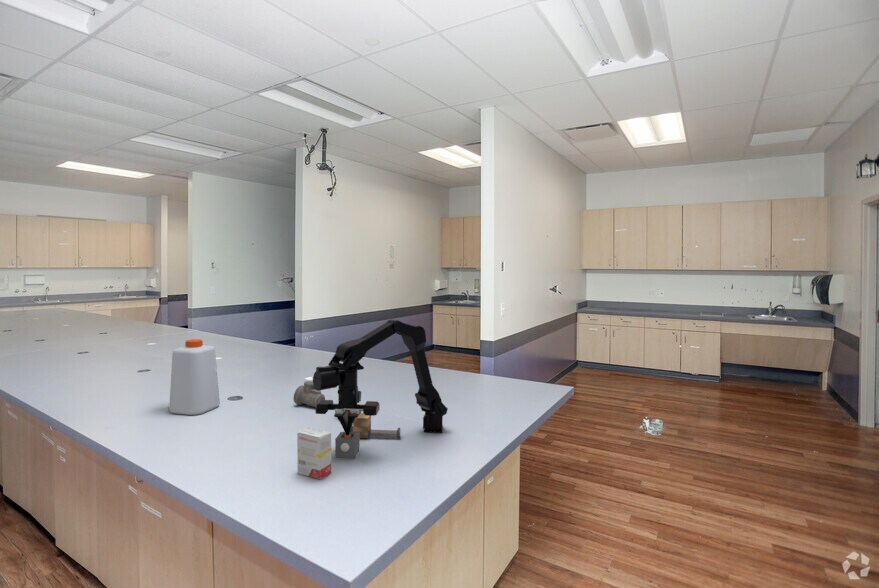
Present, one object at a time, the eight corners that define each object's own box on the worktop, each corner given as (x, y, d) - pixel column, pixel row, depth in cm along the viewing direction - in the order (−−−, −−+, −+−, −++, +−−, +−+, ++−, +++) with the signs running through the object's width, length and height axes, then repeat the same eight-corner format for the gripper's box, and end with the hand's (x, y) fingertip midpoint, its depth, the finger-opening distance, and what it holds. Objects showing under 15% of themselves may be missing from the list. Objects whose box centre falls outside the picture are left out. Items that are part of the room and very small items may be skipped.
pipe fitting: (291, 405, 185) (294, 381, 184) (304, 401, 192) (308, 378, 192) (313, 413, 180) (316, 388, 179) (326, 409, 187) (330, 385, 186)
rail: (400, 436, 154) (400, 427, 154) (399, 439, 151) (399, 430, 151) (351, 434, 155) (351, 426, 155) (349, 437, 152) (349, 429, 152)
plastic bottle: (197, 417, 171) (196, 344, 169) (163, 413, 174) (162, 342, 172) (224, 405, 185) (223, 338, 184) (192, 402, 188) (191, 336, 187)
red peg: (352, 446, 139) (352, 433, 139) (350, 448, 137) (350, 436, 137) (345, 445, 139) (345, 433, 139) (343, 448, 137) (343, 435, 137)
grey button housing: (359, 451, 141) (359, 432, 141) (354, 459, 135) (354, 440, 135) (340, 450, 142) (340, 431, 141) (335, 458, 135) (335, 439, 135)
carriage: (370, 432, 156) (371, 413, 155) (367, 437, 151) (367, 418, 150) (356, 431, 156) (356, 413, 156) (353, 437, 151) (353, 417, 151)
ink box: (332, 473, 126) (332, 431, 125) (320, 480, 122) (320, 437, 121) (309, 466, 130) (309, 426, 129) (296, 473, 126) (296, 432, 125)
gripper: (382, 379, 145) (382, 426, 146) (326, 377, 146) (326, 424, 147) (376, 388, 134) (375, 439, 134) (314, 386, 135) (314, 437, 136)
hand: (347, 434), depth 138 cm, fingers closed, pressing on red peg
